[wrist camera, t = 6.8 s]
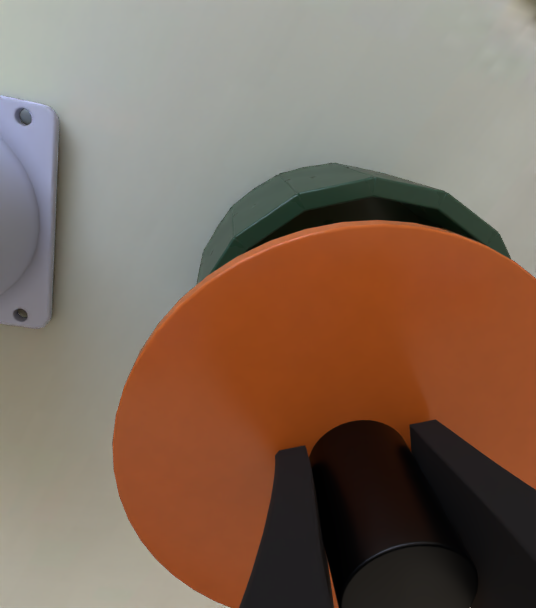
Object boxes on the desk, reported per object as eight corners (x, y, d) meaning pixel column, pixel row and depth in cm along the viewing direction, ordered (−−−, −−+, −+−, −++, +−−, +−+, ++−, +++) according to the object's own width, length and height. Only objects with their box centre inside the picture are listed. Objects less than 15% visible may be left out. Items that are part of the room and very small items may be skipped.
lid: (293, 638, 14) (318, 841, 10) (21, 406, 11) (-109, 581, 7) (618, 453, 13) (803, 609, 9) (431, 99, 9) (604, 75, 5)
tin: (182, 383, 19) (166, 474, 14) (220, 138, 16) (217, 143, 11) (401, 412, 21) (457, 502, 16) (479, 193, 17) (582, 220, 12)
